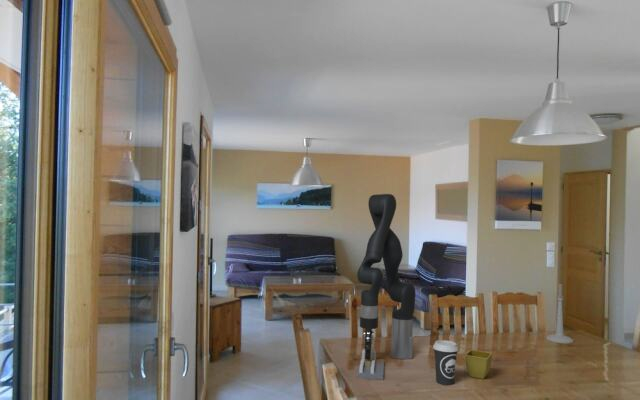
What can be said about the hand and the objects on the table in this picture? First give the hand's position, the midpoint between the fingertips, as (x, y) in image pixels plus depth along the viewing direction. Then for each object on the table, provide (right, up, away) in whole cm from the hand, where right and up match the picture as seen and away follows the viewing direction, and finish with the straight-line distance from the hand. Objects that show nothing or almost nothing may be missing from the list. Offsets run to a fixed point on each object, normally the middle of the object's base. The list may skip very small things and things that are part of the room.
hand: (368, 357), depth 197 cm
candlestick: (+107, -9, +55) cm, 120 cm away
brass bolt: (0, -3, +2) cm, 4 cm away
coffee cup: (+28, -5, -13) cm, 32 cm away
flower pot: (+43, -6, -6) cm, 44 cm away
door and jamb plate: (+1, -5, -1) cm, 5 cm away
